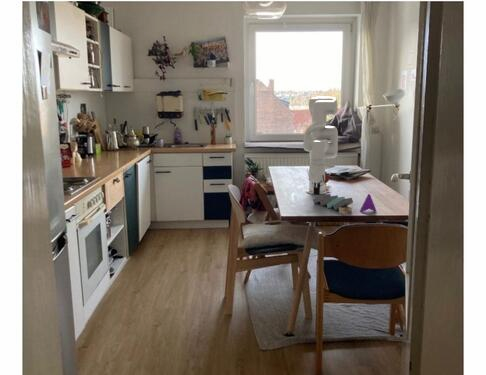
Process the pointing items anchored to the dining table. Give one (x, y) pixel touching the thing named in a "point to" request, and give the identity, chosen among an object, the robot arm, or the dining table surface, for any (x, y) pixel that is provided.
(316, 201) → the tile
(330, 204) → the teal tile
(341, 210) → the stop block
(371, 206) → the arrowhead
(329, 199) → the tile
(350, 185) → the dining table surface
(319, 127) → the robot arm
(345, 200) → the tile
